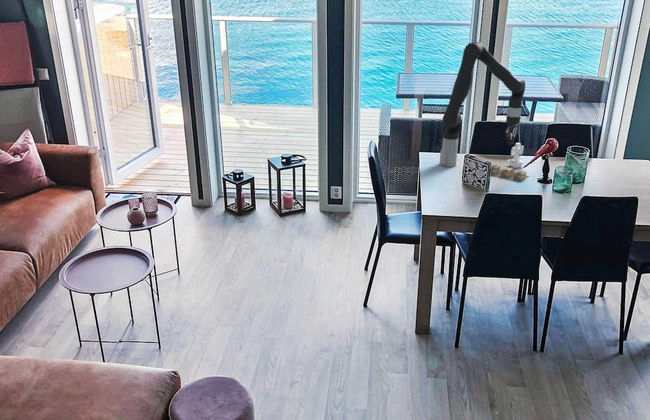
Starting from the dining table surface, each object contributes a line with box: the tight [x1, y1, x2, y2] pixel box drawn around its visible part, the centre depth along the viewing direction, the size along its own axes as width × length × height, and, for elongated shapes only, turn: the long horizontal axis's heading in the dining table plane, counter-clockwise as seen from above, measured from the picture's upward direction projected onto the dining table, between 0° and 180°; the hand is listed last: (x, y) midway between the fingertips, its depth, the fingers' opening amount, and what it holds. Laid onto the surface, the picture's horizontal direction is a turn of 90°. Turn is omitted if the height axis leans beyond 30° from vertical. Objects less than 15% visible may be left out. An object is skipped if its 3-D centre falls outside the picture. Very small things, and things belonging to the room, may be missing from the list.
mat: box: [490, 169, 530, 183], centre depth 359 cm, size 22×14×1 cm, turn 50°
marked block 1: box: [490, 163, 501, 174], centre depth 362 cm, size 5×5×4 cm
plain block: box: [500, 166, 514, 177], centre depth 358 cm, size 5×5×4 cm
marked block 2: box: [513, 169, 527, 181], centre depth 353 cm, size 5×5×4 cm
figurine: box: [507, 142, 525, 169], centre depth 371 cm, size 7×9×15 cm
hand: (510, 144), depth 351 cm, fingers open, 3 cm apart
